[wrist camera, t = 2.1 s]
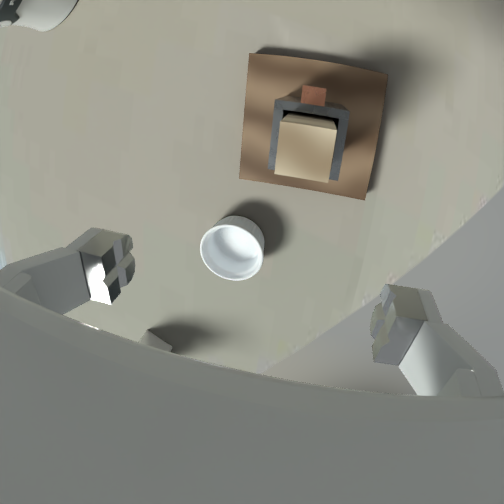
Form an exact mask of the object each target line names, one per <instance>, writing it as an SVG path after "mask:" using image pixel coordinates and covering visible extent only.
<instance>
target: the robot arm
mask: <svg viewBox="0 0 504 504" xmlns="http://www.w3.org/2000/svg"><path fill="white" fill-rule="evenodd" d="M76 2H77V0H0V27H6V26H9V25H18V26H25V27H29V28H32V29H35V30H37V31H48V30H50V29H52V28H54V27H56V26H57V25H58V24H60V23H61V22H62V21H63V20H64V19H65V18H66V17H67V16H68V14H69V13H70V12H71V10H72V9H73V7H74V6H75V4H76ZM132 248H133V243H132V238H131V237H130V236H129V235H127V234H123V233H118V232H114V231H109V230H105V229H100V228H90V229H89V230H88V231H86V232H85V233H84V234H82V235H81V236H80V237H78V238H77V239H76V240H75V241H73V242H72V243H71V244H69V245H68V246H67V247H66V248H63V247H61V248H58V249H55V250H51V251H48V252H45V253H42V254H39V255H35V256H32V257H29V258H26V259H23V260H20V261H17V262H14V263H11V264H8V265H6V266H5V267H4V268H2V269H1V270H0V504H504V391H503V388H502V385H501V382H500V380H499V377H498V374H497V371H496V369H495V368H494V367H493V366H492V365H491V364H490V363H489V362H488V361H487V360H486V359H485V358H484V357H483V356H481V355H480V354H479V353H478V352H477V351H476V350H475V349H474V348H473V347H472V346H471V345H470V344H469V343H468V342H467V341H465V340H464V339H463V338H462V337H461V336H460V335H459V334H458V333H457V332H456V331H455V330H454V329H452V328H451V327H450V326H449V325H448V324H444V323H443V321H442V318H441V315H440V313H439V310H438V308H437V305H436V303H435V300H434V298H433V295H432V293H431V292H430V291H429V290H424V289H417V288H410V287H403V286H397V285H390V284H385V285H384V287H383V289H382V291H381V294H380V297H381V303H379V304H378V305H377V306H375V309H374V312H373V314H372V319H371V324H370V331H371V336H372V337H373V338H374V339H375V341H374V343H373V345H372V351H373V360H374V362H378V363H384V364H391V365H398V366H399V368H400V370H401V371H402V373H403V374H404V376H405V377H406V378H407V380H408V381H409V383H410V384H411V386H412V387H413V389H414V390H415V392H416V393H417V395H405V394H389V393H379V392H368V391H360V390H352V389H343V388H336V387H329V386H322V385H316V384H310V383H304V382H297V381H292V380H286V379H280V378H276V377H271V376H266V375H261V374H256V373H251V372H247V371H242V370H238V369H233V368H229V367H225V366H221V365H216V364H212V363H208V362H204V361H201V360H197V359H193V358H189V357H186V356H182V355H178V354H175V353H171V352H168V351H165V350H161V349H158V348H154V347H151V346H148V345H145V344H142V343H138V342H135V341H132V340H129V339H126V338H123V337H120V336H117V335H115V334H112V333H109V332H106V331H103V330H100V329H98V328H95V327H92V326H90V325H87V324H84V323H82V322H79V321H77V320H74V319H72V318H69V317H67V316H64V315H63V314H65V313H67V312H69V311H71V310H72V309H74V308H76V307H78V306H80V305H82V304H84V303H86V302H87V301H89V300H91V299H93V300H97V301H100V302H104V303H107V304H112V303H113V301H114V300H115V299H116V298H117V297H118V295H119V294H120V293H121V289H120V288H121V287H123V286H126V285H128V284H129V282H130V281H131V280H132V277H133V275H134V272H135V259H134V257H133V256H132V254H131V253H130V251H131V250H132Z"/></svg>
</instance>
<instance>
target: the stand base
mask: <svg viewBox="0 0 504 504" xmlns="http://www.w3.org/2000/svg"><path fill="white" fill-rule="evenodd" d="M387 79H388V74H384V73H380V72H376V71H371V70H367V69H362V68H358V67H353V66H348V65H343V64H337V63H331V62H325V61H319V60H312V59H305V58H297V57H289V56H279V55H268V54H254V53H249V63H248V74H247V85H246V97H245V109H244V122H243V134H242V147H241V161H240V174H239V179H245V180H252V181H258V182H265V183H272V184H278V185H284V186H290V187H296V188H302V189H308V190H314V191H319V192H325V193H330V194H335V195H340V196H346V197H351V198H356V199H361V200H365V197H366V193H367V188H368V184H369V179H370V175H371V170H372V165H373V161H374V156H375V151H376V145H377V140H378V135H379V129H380V124H381V118H382V112H383V106H384V99H385V93H386V86H387ZM303 85H306V86H313V87H319V88H325V89H326V97H325V101H327V102H332V103H338V104H342V105H343V106H345V107H346V108H347V109H348V110H349V111H350V114H349V121H348V127H347V133H346V139H345V145H344V151H343V157H342V163H341V168H340V173H339V179H338V181H335V180H330V179H329V181H328V183H325V182H319V181H314V180H308V179H302V178H296V177H290V176H284V175H278V174H274V172H275V170H270V169H268V160H269V151H270V141H271V132H272V122H273V112H274V103H275V99H278V98H281V97H284V96H294V97H301V96H302V87H303ZM332 118H333V117H332Z"/></svg>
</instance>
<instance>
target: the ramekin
mask: <svg viewBox="0 0 504 504" xmlns="http://www.w3.org/2000/svg"><path fill="white" fill-rule="evenodd" d="M264 242H265V241H264V236H263V233H262V231H261V230H260V228H259V227H258V226H257V225H256V224H255V223H254V222H253V221H251V220H249V219H247V218H245V217H242V216H228V217H226V218H224V219H221V220H220V221H218V222H217V223H216V224H215V225H214V226H213V227H212V228H211V229H209V230H208V231H207V232H206V233H205V234H204V236H203V238H202V240H201V244H200V252H201V256H202V259H203V261H204V263H205V264H206V266H207V267H208V268H209V269H210V270H211V271H212V272H213V273H215V274H216V275H218V276H220V277H222V278H225V279H228V280H236V281H238V280H245V279H248V278H250V277H252V276H254V275H255V274H256V273H257V272H258V271H259V270H260V268H261V266H262V263H263V257H264V255H263V251H264V245H265V243H264Z"/></svg>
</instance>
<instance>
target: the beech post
mask: <svg viewBox="0 0 504 504" xmlns="http://www.w3.org/2000/svg"><path fill="white" fill-rule="evenodd" d="M336 133H337V129H336V126H335V123H334V121H333V118H332V117H328V116H323V115H317V114H310V113H304V112H297V111H291V112H290V113H289V114H288V115H286V116H285V117H284V118H283V119H282V120H281V121H280V128H279V137H278V146H277V155H276V164H275V172H274V174H278V175H284V176H290V177H296V178H302V179H308V180H314V181H319V182H325V183H328V181H329V175H330V169H331V164H332V158H333V152H334V146H335V139H336Z"/></svg>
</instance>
